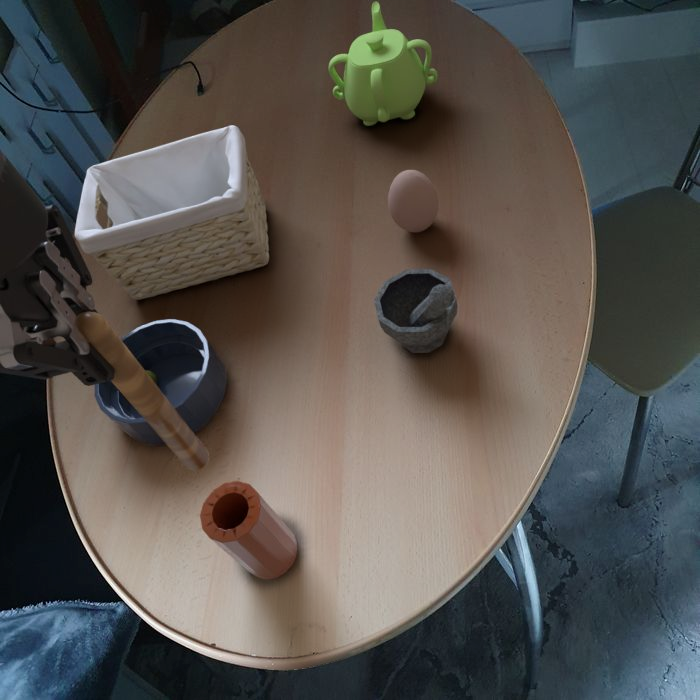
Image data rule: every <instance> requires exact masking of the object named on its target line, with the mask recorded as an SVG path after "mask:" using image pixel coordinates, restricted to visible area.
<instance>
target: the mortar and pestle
mask: <svg viewBox="0 0 700 700" xmlns="http://www.w3.org/2000/svg"><path fill="white" fill-rule="evenodd" d="M373 301H374V307H375V311H376V316H377V320H378V324H379V326H380V328H381V330H382V331H383V332H384V333H385V334H386V335H387V336H389V337H391V338H392V339H393V340H395V341H397V342H398V343H400V345H401V347H403V348H405V349H406V350H408V351H409V352H410V353H413V354H429V353H431V352H432V351H434V350H436V349H438V348H439V347H442V346H443V344H444V341H445V339H446V338H447V335H448V332H449V330H450V328H451V326H452V325H453V322H454V320H455V319H456V316H457V314H458V301H457V296H456V293H455V290H454V287H453V284H452V281H451V279H450V278H448V277H446V276H444V275H442V274H440V273H439V272H437V271H435V270H434V269H432V268H417V269H415V268H414V269H413V268H411V269H405V270H403V271H401V272H399V273H398V274H396V275H393V276H392V277H390V278H388V279H386V280H385V281H383V284H382V285H381V287H380V289H379V291H378V293H377V294H376V296H375V298H374V300H373Z"/></svg>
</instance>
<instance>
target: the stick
mask: <svg viewBox="0 0 700 700" xmlns="http://www.w3.org/2000/svg"><path fill="white" fill-rule="evenodd" d="M98 313H99V312H98ZM98 313H96V312H91V311H89V312H83V313H81V314H79V315H77V316H76V320H75V326H76V327H77V328H78V329H79V331H80V332H81V333H82V334H83V336H84V337H85V338H86V339H87V341H88V343H91V344H92V345H93V346H94V347H95V349H96V350H97V351H98V352H99V353H100V354H101V355H102V356H103V357H104V358H105V359H106V360H107V361H108V362H109V363H110V364H111V365H112V366H113V367H114V369H115V374H114V379H113V380H111V381H112V383H113V384H114V385H115V386H116V387H117V388H118V389H119V391H120V392H121V393H122V394H123V395H124V396H125V397H126V399H127V400H128V401H129V402H130V403H131V404H132V405H133V407H134V408H135V409H136V410H137V411H138V412H139V413H140V415H141V416H142V417H143V418H144V419H145V420H146V421H147V423H148V424H149V425H150V426H151V427H152V428H153V429H154V431H155V432H156V433H157V434H158V435H159V436H160V437H161V439H162V440H163V441H164V442H165V443H166V444H165V445H166V446H167V447H168V448H169V449H170V451H172V453H173V454H174V455H175V456H176V457H177V458H178V459H179V460H180V462H181V463H182V464H183V465H184V466H185V468H187V469H188V470H190V471H192V472H197V471H200V470H203V469H204V468H206V466H207V465H208V464H209V462H210V454H209V451H208V449H207V448H206V446H205V445H204V444H203V443H202V441H201V440H200V439H199V438H198V436H197V435H196V434H195V433H193V431H192V430H191V429H190V428H189V426H188V425H187V424H186V422H185V421H184V420H183V419H182V417H181V416H180V415H179V413H178V412H177V411H176V410H175V408H174V407H173V406H172V404H171V403H170V402H169V401H168V399H167V398H166V397H165V395H164V394H163V393H162V392H161V390H160V389H159V388H158V387H157V385H156V384H155V383H154V381H153V380H152V379H151V378H150V376H149V375H148V374H147V372H146V371H145V370H144V369H143V367H142V366H141V365H140V363H139V362H138V361H137V360H136V358H135V357H134V356H133V354H132V353H131V352H130V351H129V349H128V348H127V347H126V345H125V344H124V343H123V342H122V340H121V338H120V336H119V335H118V333H116V331H115V330H114V328H113V327H112V326H111V325H110V324H109V322H108V321H107V319H106V318H105V317H104V316H103V315H101V314H100V313H99V314H98Z"/></svg>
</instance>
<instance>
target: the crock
mask: <svg viewBox="0 0 700 700" xmlns="http://www.w3.org/2000/svg"><path fill="white" fill-rule="evenodd" d="M199 516H200V523H201V529H202V531H203V532H204V533H205V534H206V536H207V537H208V538H209V539H210V540H211V541H212V542H214V544H216V545H217V546H218V547H219V548H220V549H222V550H223V551H224V552H225V553H226V554H228V555H229V556H230V557H231V558H232V559H233V560H234V561H235V562H236V563H238V564H239V565H240V566H241V567H243V568H244V569H245V570H246V571H247V572H248V573H250V574H251V575H253V576H254V577H256V578H259V579H260V580H261V579H262V580H272V579H277V578H279V577H281V576H282V575H284V574H285V573H287V572H288V571H289V570H290V568H291V567H292V566H293V564H294V563H295V561H296V558H297V554H298V542H297V538H296V537H295V534H294V532H293V531H292V530H291V529H290V528H289V527H288V525H287V524H286V523H285V522H284V521H283V520H282V519H281V517H280V516H279V515H278V514H277V513H276V512H275V510H274V509H273V508H272V507H271V506H270V505H269V503H267V501H266V500H265V498H263V497H262V496H261V495H260V493H259V492H258V491H257V490H256V489H255V488H254V487H253V486H252V484H250V483H247V482H245V481H241V480H234V481H228V482H224V483H222V484H221V485H219V486H217V487H216V488H214V489H213V490H212V491H211V492H210V493H209V495H208V496H207V497H206V499H205V500H204V502H203V503H202V507H201V511H200V514H199Z"/></svg>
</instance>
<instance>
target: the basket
mask: <svg viewBox="0 0 700 700" xmlns="http://www.w3.org/2000/svg"><path fill="white" fill-rule="evenodd" d="M255 175H256V174H255V172H254V169H253V167H252V164H251V163H250V161H249V157H248V152H247V145H246V138H245V136H244V134H243V133H242V132H241V129H240V128H239V127H238V126H236V125H232V124H231V125H228V126H225V127H222V128H221V127H220V128H217V129H214V130H209V131H205V132H201V133H198V134H195V135H192V136H191V135H190V136H188V137H185V138H182V139H179V140H175V141H172V142H169V143H165V144H161V145H158V146H155V147H153V148H149V149H145V150H142V151H138V152H135V153H131V154H128V155H124V156H121V157H118V158H113V159H110V160H108V161H104V162H100V163H97V164H94V165H92V166H91V165H90V167H88V168H87V170H86V175H85V178H84V180H83V181H84V182H83V185H82V190H81V195H80V201H79V206H78V211H77V215H76V222H75V228H74V238H75V240H76V241H78V244H79V246H80V249H81V250H82V251H83V253H85V254H86V255H91V256H92V257H93V258H95V260H96V261H97V262H98V263H99V264H100V266H101V267H102V268H103V269H104V270H105V271H106V273H107V274H108V276H110V277H111V278H113V279H114V280H115V282H116V284H118V285H119V286H121V287H122V288H123V290H124V292H126V293H127V294H128V295H129V296H130V297H131V298H132V300H135V301H139V300H143V299H147V298H153V297H156V296H158V295H162V294H168V293H170V292H173V291H176V290H182V289H185V288H188V287H192V286H198V285H200V284H203V283H206V282H210V281H216V280H219V279H221V278H224V277H228V276H234V275H236V274H239V273H244V272H247V271H252V270H254V269H257V268H261V267H264V266H266V265H268V263H269V261H270V253H269V251H270V246H269V235H268V229H269V228H268V222H267V213H266V212H267V210H266V209H267V207H266V203H265V200H264V197H263V195H262V192H261V188H260V187H259V181H258V180H257V177H256V176H255ZM100 205H102V207H103V209H104V210H105V212H106V214H107V217H108V218H107V224H106V228H103V227H102V225H100V222H99V219H100V218H99V217H98V216H97V215H98V211H99V208H100Z"/></svg>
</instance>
